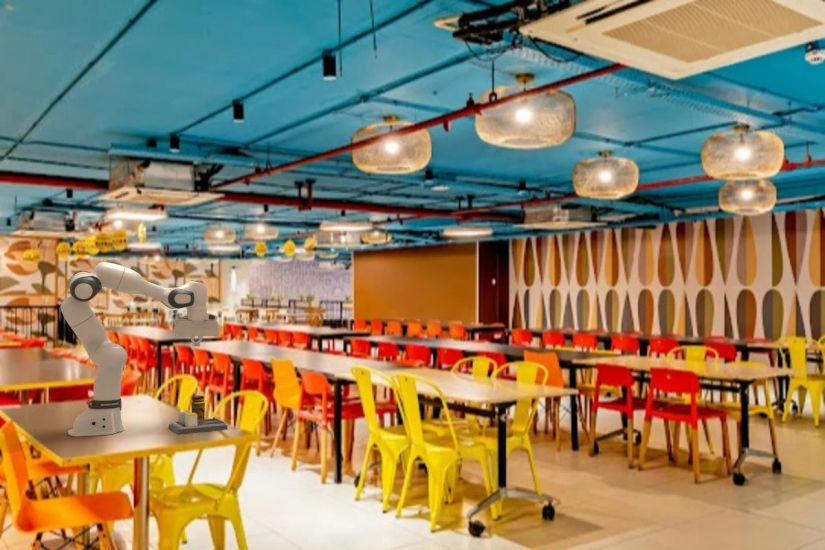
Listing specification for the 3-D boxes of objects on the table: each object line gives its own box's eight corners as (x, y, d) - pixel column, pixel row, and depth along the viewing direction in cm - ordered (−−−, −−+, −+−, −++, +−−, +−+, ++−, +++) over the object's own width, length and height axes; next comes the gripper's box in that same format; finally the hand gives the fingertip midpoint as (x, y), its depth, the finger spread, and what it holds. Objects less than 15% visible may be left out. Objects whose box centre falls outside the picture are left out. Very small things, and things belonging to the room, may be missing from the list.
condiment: (207, 421, 350) (207, 396, 350) (189, 423, 346) (189, 397, 346) (202, 419, 356) (202, 394, 356) (184, 421, 352) (185, 395, 352)
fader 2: (188, 427, 324) (188, 415, 324) (184, 425, 328) (185, 413, 328) (197, 426, 326) (197, 414, 326) (193, 424, 330) (194, 412, 330)
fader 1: (181, 424, 330) (181, 413, 330) (178, 422, 334) (178, 411, 334) (190, 423, 332) (190, 412, 332) (187, 422, 336) (187, 411, 336)
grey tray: (178, 434, 320) (178, 426, 320) (168, 428, 332) (168, 420, 333) (227, 429, 332) (227, 421, 332) (216, 424, 345) (216, 416, 345)
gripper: (175, 316, 329) (175, 347, 329) (220, 316, 340) (220, 346, 340) (171, 316, 334) (171, 346, 334) (216, 315, 345) (215, 345, 345)
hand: (196, 346), depth 337 cm, fingers closed
